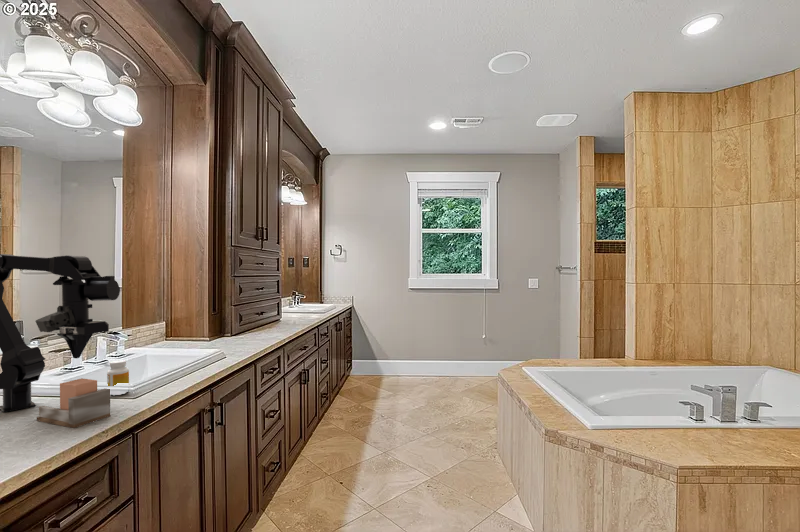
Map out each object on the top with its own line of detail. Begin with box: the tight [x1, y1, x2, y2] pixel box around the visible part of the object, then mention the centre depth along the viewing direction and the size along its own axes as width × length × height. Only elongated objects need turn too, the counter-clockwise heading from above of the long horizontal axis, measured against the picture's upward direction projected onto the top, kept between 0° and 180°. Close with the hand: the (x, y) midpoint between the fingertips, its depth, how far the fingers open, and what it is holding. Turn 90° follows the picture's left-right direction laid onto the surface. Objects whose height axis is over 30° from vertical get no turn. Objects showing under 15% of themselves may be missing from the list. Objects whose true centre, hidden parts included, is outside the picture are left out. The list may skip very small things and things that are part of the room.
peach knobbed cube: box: [59, 377, 98, 410], centre depth 103 cm, size 7×5×8 cm
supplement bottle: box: [106, 359, 130, 386], centre depth 124 cm, size 5×5×10 cm
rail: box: [36, 388, 111, 429], centre depth 104 cm, size 14×8×7 cm, turn 68°
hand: (76, 358), depth 114 cm, fingers closed
